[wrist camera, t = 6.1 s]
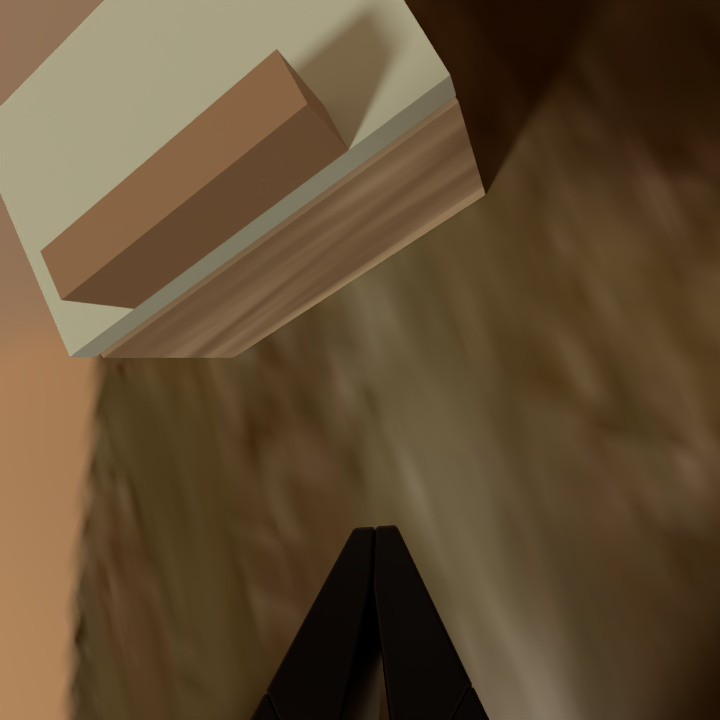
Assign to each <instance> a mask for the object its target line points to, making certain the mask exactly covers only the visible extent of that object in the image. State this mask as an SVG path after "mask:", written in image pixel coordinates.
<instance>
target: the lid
mask: <svg viewBox="0 0 720 720" xmlns="http://www.w3.org/2000/svg"><path fill="white" fill-rule="evenodd" d="M455 96H456V93H455V90H454V86H453V83H452V79H451V76H450V74H449V72H448V71H447V69H446V67H445V66H444V64H443V63H442V61H441V59H440V58H439V56H438V54H437V53H436V51H435V50H434V48H433V46H432V45H431V43H430V42H429V40H428V38H427V37H426V35H425V34H424V32H423V30H422V29H421V27H420V25H419V24H418V22H417V21H416V19H415V17H414V16H413V14H412V13H411V11H410V9H409V8H408V6H407V5H406V3H405V1H404V0H104V1H103V2H102V3H101V4H100V5H99V6H98V7H97V8H96V9H95V10H94V11H93V12H92V13H91V14H90V15H89V16H88V17H87V19H85V20H84V21H83V22H82V24H81V25H80V26H79V27H78V28H77V29H76V30H75V31H74V32H73V33H72V34H71V35H70V36H69V37H68V38H67V39H66V40H65V41H64V42H63V43H62V44H61V45H60V46H59V47H58V48H57V49H56V50H55V51H54V52H53V53H52V54H51V55H50V56H49V57H48V58H47V59H46V60H45V61H44V62H43V63H42V64H41V66H40V67H39V68H38V69H37V70H36V71H35V72H34V73H33V74H32V75H31V76H30V77H29V78H28V79H27V80H26V81H25V82H24V83H23V84H22V85H21V86H20V87H19V88H18V89H17V90H16V91H15V92H14V93H13V94H12V95H11V96H10V97H9V98H8V99H7V100H6V101H5V102H4V103H3V104H2V105H1V106H0V193H1V196H2V198H3V200H4V203H5V205H6V208H7V210H8V212H9V215H10V217H11V219H12V222H13V224H14V226H15V229H16V231H17V234H18V236H19V238H20V240H21V243H22V245H23V248H24V250H25V252H26V255H27V257H28V259H29V262H30V264H31V267H32V269H33V271H34V274H35V276H36V278H37V281H38V283H39V285H40V288H41V290H42V292H43V295H44V297H45V299H46V302H47V304H48V307H49V309H50V311H51V314H52V316H53V318H54V321H55V323H56V325H57V328H58V330H59V333H60V335H61V337H62V340H63V342H64V344H65V347H66V349H67V352H68V354H69V356H70V357H96V356H97V355H99V354H100V353H101V352H103V351H104V350H106V349H107V348H108V347H110V346H111V345H112V344H114V343H115V342H117V341H118V340H119V339H121V338H122V337H123V336H125V335H126V334H128V333H129V332H130V331H132V330H133V329H134V328H136V327H137V326H139V325H140V324H141V323H143V322H144V321H146V320H147V319H148V318H150V317H151V316H152V315H154V314H155V313H157V312H158V311H159V310H161V309H162V308H163V307H165V306H166V305H168V304H169V303H170V302H172V301H173V300H175V299H176V298H177V297H179V296H180V295H181V294H183V293H184V292H186V291H187V290H188V289H190V288H191V287H192V286H194V285H195V284H197V283H198V282H199V281H201V280H202V279H204V278H205V277H206V276H208V275H209V274H210V273H212V272H213V271H215V270H216V269H217V268H219V267H220V266H221V265H223V264H224V263H226V262H227V261H228V260H230V259H231V258H232V257H234V256H235V255H237V254H238V253H239V252H241V251H242V250H244V249H245V248H246V247H248V246H249V245H250V244H252V243H253V242H255V241H256V240H257V239H259V238H260V237H261V236H263V235H264V234H266V233H267V232H268V231H270V230H271V229H273V228H274V227H275V226H277V225H278V224H279V223H281V222H282V221H284V220H285V219H286V218H288V217H289V216H290V215H292V214H293V213H295V212H296V211H297V210H299V209H300V208H302V207H303V206H304V205H306V204H307V203H308V202H310V201H311V200H313V199H314V198H315V197H317V196H318V195H319V194H321V193H322V192H324V191H325V190H326V189H328V188H329V187H330V186H332V185H333V184H335V183H336V182H337V181H339V180H340V179H342V178H343V177H344V176H346V175H347V174H348V173H350V172H351V171H353V170H354V169H355V168H357V167H358V166H359V165H361V164H362V163H364V162H365V161H366V160H368V159H369V158H371V157H372V156H373V155H375V154H376V153H377V152H379V151H380V150H382V149H383V148H384V147H386V146H387V145H388V144H390V143H391V142H393V141H394V140H395V139H397V138H398V137H400V136H401V135H402V134H404V133H405V132H406V131H408V130H409V129H411V128H412V127H413V126H415V125H416V124H417V123H419V122H420V121H422V120H423V119H424V118H426V117H427V116H428V115H430V114H431V113H433V112H434V111H435V110H437V109H438V108H440V107H441V106H442V105H444V104H445V103H446V102H448V101H449V100H451V99H452V98H453V97H455Z"/></svg>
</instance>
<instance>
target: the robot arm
mask: <svg viewBox="0 0 720 720" xmlns="http://www.w3.org/2000/svg"><path fill="white" fill-rule="evenodd" d="M382 671H384V679H385V687H386V695H387V703H388V711H389V719H390V720H489V718H488V716H487V714H486V712H485V710H484V708H483V706H482V704H481V702H480V700H479V698H478V695H477V693H476V691H475V689H474V688H473V687H472V683H471V681H470V679H469V677H468V675H467V673H466V671H465V669H464V666H463V664H462V662H461V660H460V658H459V656H458V654H457V652H456V650H455V647H454V645H453V643H452V641H451V639H450V637H449V635H448V633H447V631H446V628H445V626H444V624H443V622H442V620H441V618H440V616H439V614H438V612H437V610H436V607H435V605H434V603H433V601H432V599H431V597H430V595H429V593H428V591H427V588H426V586H425V584H424V582H423V580H422V578H421V576H420V574H419V572H418V569H417V567H416V565H415V563H414V561H413V559H412V557H411V555H410V553H409V551H408V548H407V546H406V544H405V542H404V540H403V538H402V536H401V534H400V532H399V529H398V528H397V527H396V526H395V525H390V526H378V527H377V528H376V530H375V528H373V527H360V528H355V529H354V530H353V531H352V533H351V535H350V536H349V538H348V540H347V542H346V544H345V546H344V548H343V549H342V551H341V553H340V555H339V557H338V559H337V561H336V562H335V564H334V566H333V568H332V570H331V572H330V573H329V575H328V577H327V579H326V581H325V583H324V585H323V586H322V588H321V590H320V592H319V594H318V596H317V598H316V599H315V601H314V603H313V605H312V607H311V609H310V610H309V612H308V614H307V616H306V618H305V620H304V622H303V623H302V625H301V627H300V629H299V631H298V633H297V635H296V636H295V638H294V640H293V642H292V644H291V646H290V647H289V649H288V651H287V653H286V655H285V657H284V659H283V660H282V662H281V664H280V666H279V668H278V670H277V672H276V673H275V675H274V677H273V679H272V681H271V683H270V684H269V686H268V688H267V694H268V695H267V694H265V695H263V697H262V699H261V701H260V703H259V704H258V706H257V708H256V710H255V712H254V714H253V716H252V717H251V719H250V720H379V711H380V697H381V684H382Z"/></svg>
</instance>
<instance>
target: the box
mask: <svg viewBox="0 0 720 720" xmlns="http://www.w3.org/2000/svg"><path fill="white" fill-rule="evenodd" d="M484 195H485V192H484V188H483V185H482V181H481V178H480V174H479V171H478V167H477V164H476V161H475V157H474V154H473V150H472V147H471V143H470V140H469V136H468V133H467V130H466V126H465V123H464V119H463V116H462V112H461V109H460V105H459V102H458V100H457V99H456V97H453V98H452V99H451V100H449V101H448V102H446V103H445V104H444V105H442V106H441V107H440V108H438V109H437V110H435V111H434V112H433V113H431V114H430V115H428V116H427V117H426V118H424V119H423V120H422V121H420V122H419V123H417V124H416V125H415V126H413V127H412V128H411V129H409V130H408V131H406V132H405V133H404V134H402V135H401V136H400V137H398V138H397V139H395V140H394V141H393V142H391V143H390V144H388V145H387V146H386V147H384V148H383V149H382V150H380V151H379V152H377V153H376V154H375V155H373V156H372V157H371V158H369V159H368V160H366V161H365V162H364V163H362V164H361V165H359V166H358V167H357V168H355V169H354V170H353V171H351V172H350V173H348V174H347V175H346V176H344V177H343V178H342V179H340V180H339V181H337V182H336V183H335V184H333V185H332V186H330V187H329V188H328V189H326V190H325V191H324V192H322V193H321V194H319V195H318V196H317V197H315V198H314V199H313V200H311V201H310V202H308V203H307V204H306V205H304V206H303V207H302V208H300V209H299V210H297V211H296V212H295V213H293V214H292V215H290V216H289V217H288V218H286V219H285V220H284V221H282V222H281V223H279V224H278V225H277V226H275V227H274V228H273V229H271V230H270V231H268V232H267V233H266V234H264V235H263V236H261V237H260V238H259V239H257V240H256V241H255V242H253V243H252V244H250V245H249V246H248V247H246V248H245V249H244V250H242V251H241V252H239V253H238V254H237V255H235V256H234V257H232V258H231V259H230V260H228V261H227V262H226V263H224V264H223V265H221V266H220V267H219V268H217V269H216V270H215V271H213V272H212V273H210V274H209V275H208V276H206V277H205V278H204V279H202V280H201V281H199V282H198V283H197V284H195V285H194V286H192V287H191V288H190V289H188V290H187V291H186V292H184V293H183V294H181V295H180V296H179V297H177V298H176V299H175V300H173V301H172V302H170V303H169V304H168V305H166V306H165V307H163V308H162V309H161V310H159V311H158V312H157V313H155V314H154V315H152V316H151V317H150V318H148V319H147V320H146V321H144V322H143V323H141V324H140V325H139V326H137V327H136V328H134V329H133V330H132V331H130V332H129V333H128V334H126V335H125V336H123V337H122V338H121V339H119V340H118V341H117V342H115V343H114V344H112V345H111V346H110V347H108V348H107V349H106V350H104V351H103V352H101V354H102V357H103V358H234V357H235V356H237V355H238V354H240V353H241V352H243V351H245V350H246V349H248V348H249V347H251V346H252V345H254V344H255V343H257V342H258V341H260V340H262V339H263V338H265V337H266V336H268V335H269V334H271V333H272V332H274V331H275V330H277V329H279V328H280V327H282V326H283V325H285V324H286V323H288V322H289V321H291V320H292V319H294V318H296V317H297V316H299V315H300V314H302V313H303V312H305V311H306V310H308V309H309V308H311V307H313V306H314V305H316V304H317V303H319V302H320V301H322V300H323V299H325V298H327V297H328V296H330V295H331V294H333V293H334V292H336V291H337V290H339V289H340V288H342V287H344V286H345V285H347V284H348V283H350V282H351V281H353V280H354V279H356V278H357V277H359V276H361V275H362V274H364V273H365V272H367V271H368V270H370V269H371V268H373V267H374V266H376V265H378V264H379V263H381V262H382V261H384V260H385V259H387V258H388V257H390V256H391V255H393V254H395V253H396V252H398V251H399V250H401V249H402V248H404V247H405V246H407V245H408V244H410V243H412V242H413V241H415V240H416V239H418V238H419V237H421V236H422V235H424V234H425V233H427V232H429V231H430V230H432V229H433V228H435V227H436V226H438V225H439V224H441V223H442V222H444V221H446V220H447V219H449V218H450V217H452V216H453V215H455V214H456V213H458V212H459V211H461V210H463V209H464V208H466V207H467V206H469V205H470V204H472V203H473V202H475V201H476V200H478V199H480V198H481V197H483V196H484Z"/></svg>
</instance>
